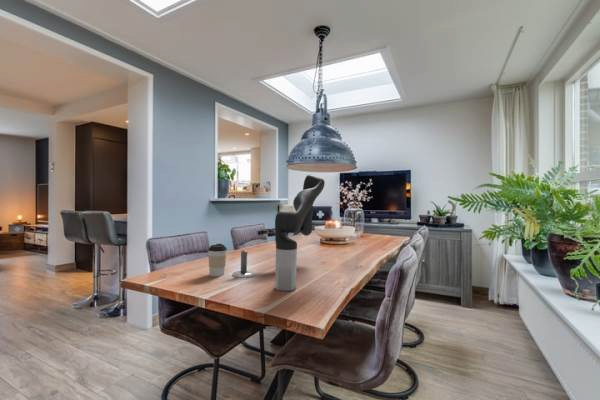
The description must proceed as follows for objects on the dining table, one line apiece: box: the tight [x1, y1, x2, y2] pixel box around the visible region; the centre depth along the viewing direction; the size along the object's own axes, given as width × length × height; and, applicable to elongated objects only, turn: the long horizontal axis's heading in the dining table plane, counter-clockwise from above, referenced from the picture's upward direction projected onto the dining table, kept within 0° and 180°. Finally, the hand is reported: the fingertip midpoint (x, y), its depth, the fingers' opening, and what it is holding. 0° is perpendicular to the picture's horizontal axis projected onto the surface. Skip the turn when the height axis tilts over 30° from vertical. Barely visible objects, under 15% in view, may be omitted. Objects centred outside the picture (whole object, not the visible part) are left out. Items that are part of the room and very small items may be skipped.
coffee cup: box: [207, 243, 228, 278], centre depth 145 cm, size 9×9×15 cm
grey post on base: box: [231, 250, 256, 279], centre depth 146 cm, size 11×11×12 cm
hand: (262, 233), depth 155 cm, fingers open, 8 cm apart
